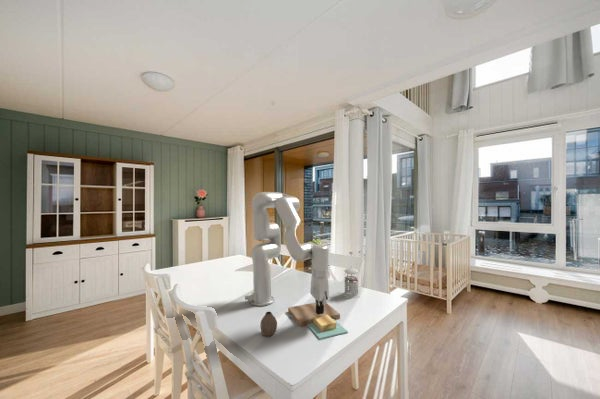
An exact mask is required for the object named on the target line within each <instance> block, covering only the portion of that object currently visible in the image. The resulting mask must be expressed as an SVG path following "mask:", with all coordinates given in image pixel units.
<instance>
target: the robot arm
mask: <svg viewBox="0 0 600 399" xmlns="http://www.w3.org/2000/svg"><path fill="white" fill-rule="evenodd" d="M270 208H271V209H272V208H273V209H274V208H275V209H276V212H277V213H278V216H279V218H280V220H281V221H282V225H283V226H284V229H285V231H284V244H285V247H286V250H288V253H289V255H290V257H291V259H292V260H294V261H295V262H300V263H301V262H303V261H306V260H310V259H311V279H310V288H309V289H310V291H309V292H310V296H312V297H313V298H314V300H315V302H314V303H316V313H317V314H323V313H324V305H325V304H328V303H327V301H329V298H330V296H329V295H330V288H329V286H330V285H329V253H330V251H329V247H328V246H327V245H325V244H318V243H315V242H312V241H309V242H304V243H300V242H299V240H298V237H297V235H296V234H297V233H296V232H297V229H298V227H300V226H301V223H302V219H301V218H300V216H299V214H298V212H299V211H300V209H301V202H300V199H298V198H297V196H293V195H290V194H286V193H282V192H279V191H278V192H277V191H262V192H258V193H256V194H255V195H254V196H253V198H252V201H251V209H252V214H253V216H252V217H253V237H254V240H256V241H257V242H260V243H257V244H255V245H254V246H252V248H251V251H250V253H251V254H250V255H251V260H252V267H253V268H252V270H253V273H252V274H253V278H252V279H253V292H252V293H251V294H250V295H244V300H246V301H248V302H249V301H250V303H251V305H253V306H256V307H266V306H269V305H271V304H273V303H274V301H275V297H274V296H272V268H271V265H270V263H269V260H273V259H276V258H278V257H279V256H280V255H281V251H282V236H281V228H280V226H279V224H278V223H276V222H273V221H272V222H270V215H269V212H268V209H270ZM263 241H264V242H263ZM265 241H267V242H265Z"/></svg>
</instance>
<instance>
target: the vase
mask: <svg viewBox="0 0 600 399" xmlns="http://www.w3.org/2000/svg"><path fill="white" fill-rule="evenodd" d="M259 327H260V332H261V333H262V335H264V336H265V337H271V336H273V335H274V334H276V332H277V329H278V321H277V319H276V317H275V316H274V315H273V313H272V311H266V312H265V314H264V316H263V317H262V318H261V320H260V326H259Z"/></svg>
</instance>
